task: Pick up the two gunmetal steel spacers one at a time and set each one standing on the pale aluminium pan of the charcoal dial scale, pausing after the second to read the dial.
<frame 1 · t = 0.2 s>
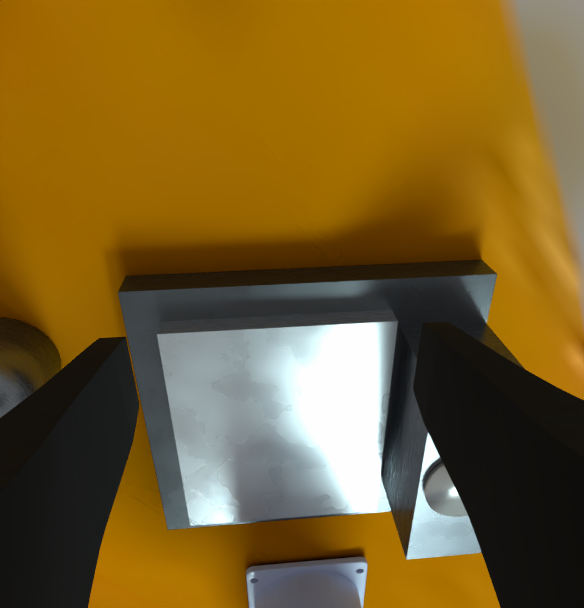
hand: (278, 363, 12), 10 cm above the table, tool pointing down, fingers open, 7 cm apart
spacer a: (10, 358, 22), on the table
dial scale: (307, 398, 25), on the table
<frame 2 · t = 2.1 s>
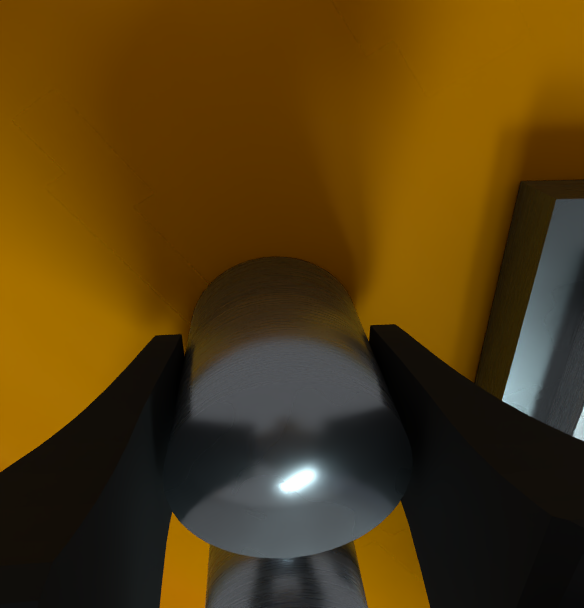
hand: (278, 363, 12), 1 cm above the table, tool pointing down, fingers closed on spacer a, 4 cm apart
spacer a: (275, 333, 13), on the table, touching gripper
spacer b: (278, 505, 16), on the table
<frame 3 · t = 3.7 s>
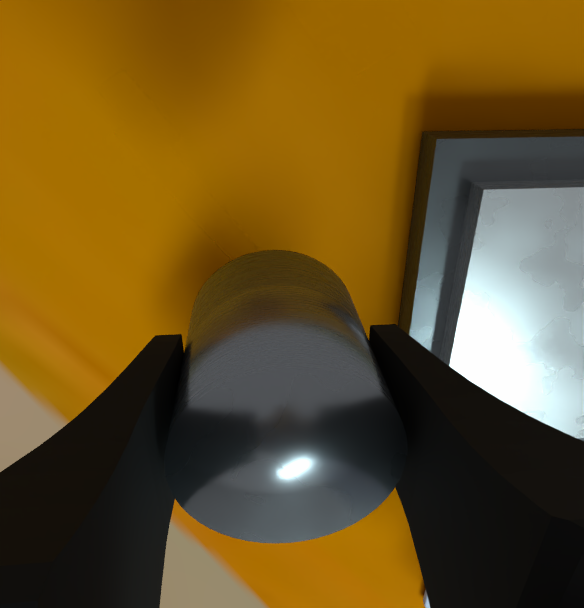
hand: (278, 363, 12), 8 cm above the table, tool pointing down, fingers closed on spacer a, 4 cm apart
spacer a: (273, 325, 13), point 7 cm above the table, touching gripper
dial scale: (572, 301, 22), on the table
when the fingers open (5 cm above the table, at t = 5.6 s): spacer a stays where it is, resting on dial scale.
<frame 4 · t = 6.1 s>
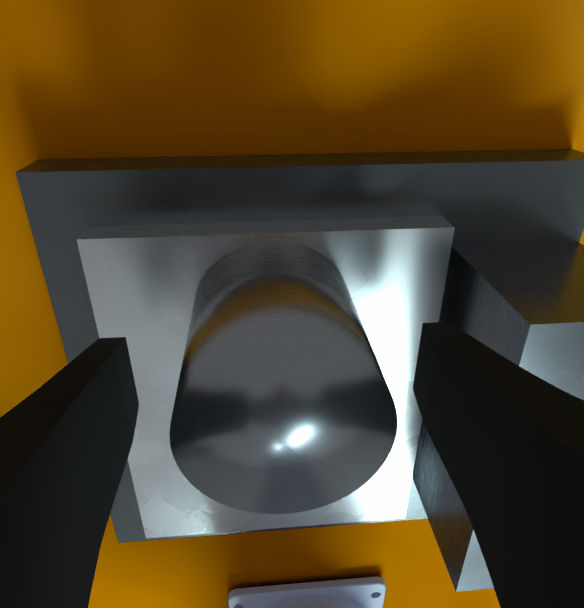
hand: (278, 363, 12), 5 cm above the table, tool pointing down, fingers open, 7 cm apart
spacer a: (272, 312, 14), point 2 cm above the table, touching dial scale
dial scale: (311, 360, 18), on the table
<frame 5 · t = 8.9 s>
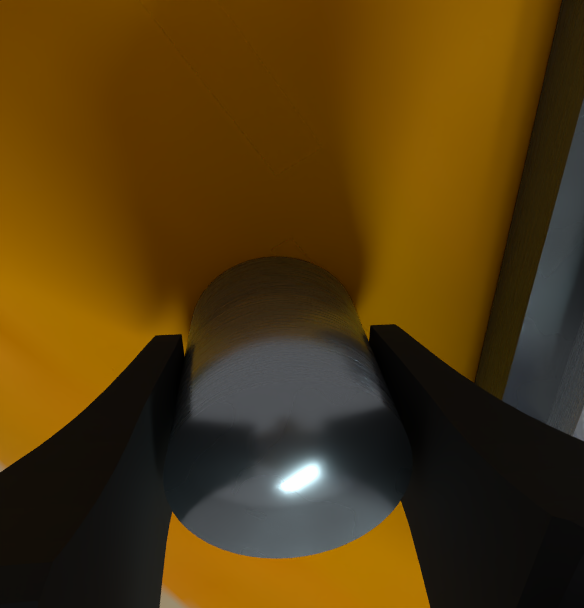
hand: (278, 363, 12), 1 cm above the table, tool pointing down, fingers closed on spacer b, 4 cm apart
spacer b: (275, 333, 13), on the table, touching gripper
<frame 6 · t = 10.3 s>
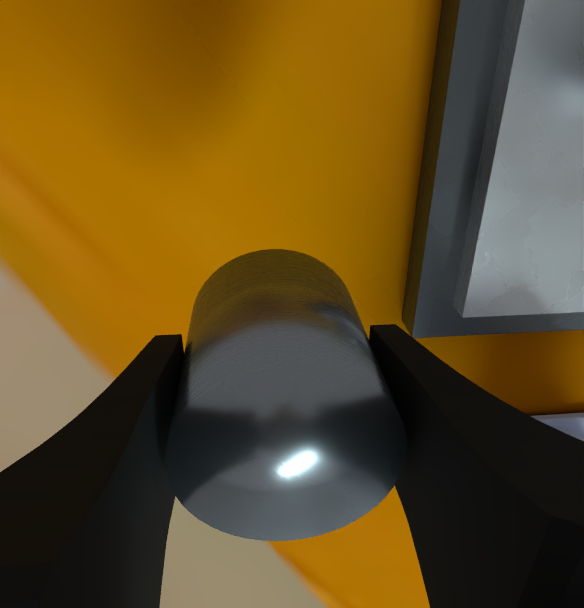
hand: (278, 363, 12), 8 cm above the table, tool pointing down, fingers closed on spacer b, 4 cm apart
spacer b: (274, 324, 13), point 7 cm above the table, touching gripper
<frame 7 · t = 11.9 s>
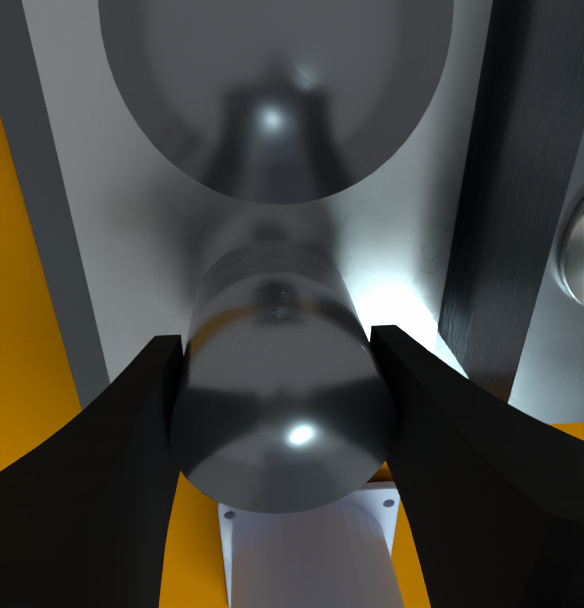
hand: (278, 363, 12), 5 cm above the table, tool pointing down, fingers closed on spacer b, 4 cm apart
spacer a: (266, 36, 11), point 2 cm above the table, touching dial scale
dial scale: (316, 172, 15), on the table
spacer b: (272, 313, 14), point 2 cm above the table, touching dial scale, gripper
when the fingers open (5 cm above the table, at t = 12.3 s): spacer b stays where it is, resting on dial scale.
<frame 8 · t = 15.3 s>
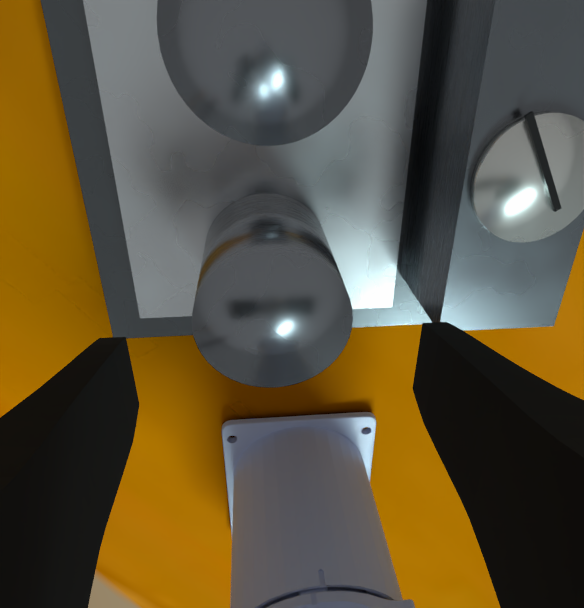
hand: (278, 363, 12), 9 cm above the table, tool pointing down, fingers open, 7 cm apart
spacer a: (260, 36, 14), point 2 cm above the table, touching dial scale
dial scale: (300, 143, 18), on the table
spacer b: (266, 252, 18), point 3 cm above the table, touching dial scale
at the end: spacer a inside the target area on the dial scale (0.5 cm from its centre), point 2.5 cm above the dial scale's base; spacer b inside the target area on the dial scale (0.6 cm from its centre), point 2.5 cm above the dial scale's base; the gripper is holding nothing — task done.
